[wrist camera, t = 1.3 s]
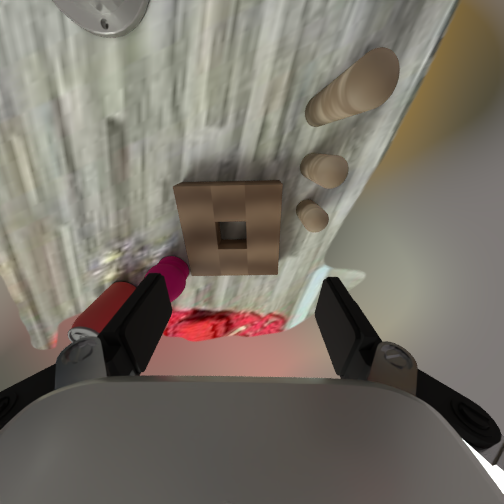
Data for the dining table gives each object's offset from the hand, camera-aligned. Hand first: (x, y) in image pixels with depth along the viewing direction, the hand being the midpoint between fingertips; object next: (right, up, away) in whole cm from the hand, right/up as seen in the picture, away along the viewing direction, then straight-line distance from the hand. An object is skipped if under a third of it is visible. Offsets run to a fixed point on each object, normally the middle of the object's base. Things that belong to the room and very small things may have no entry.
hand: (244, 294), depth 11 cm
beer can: (-28, -6, +31) cm, 42 cm away
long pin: (+10, +22, +15) cm, 29 cm away
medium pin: (+10, +16, +19) cm, 27 cm away
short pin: (+10, +10, +22) cm, 26 cm away
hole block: (-3, +7, +24) cm, 25 cm away
